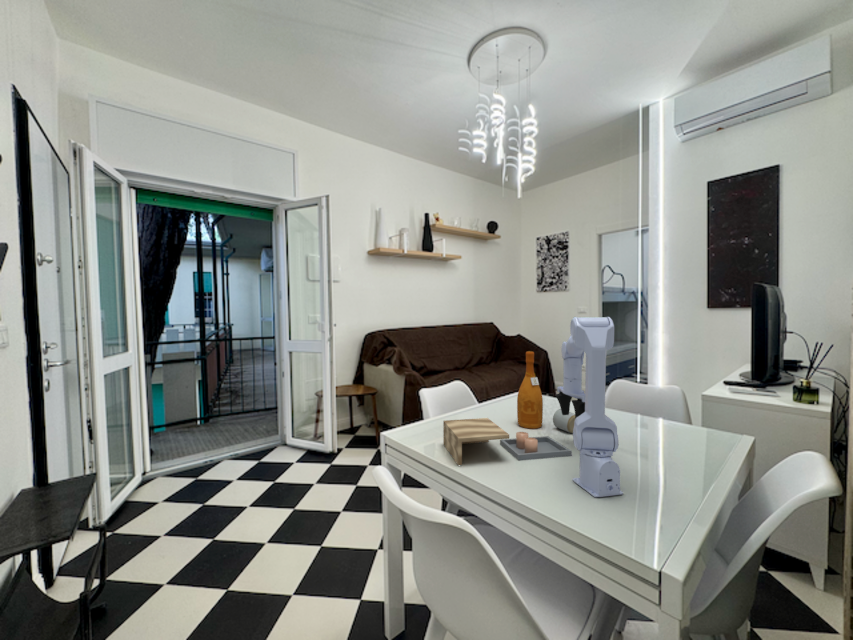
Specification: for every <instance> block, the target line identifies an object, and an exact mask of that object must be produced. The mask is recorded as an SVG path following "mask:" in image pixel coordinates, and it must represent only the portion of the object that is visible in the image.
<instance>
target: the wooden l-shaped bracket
mask: <svg viewBox="0 0 853 640" xmlns="http://www.w3.org/2000/svg"><path fill="white" fill-rule="evenodd" d="M442 428H443V431H442V432H443V433H442V434H443V436H442V437H443V446H444V445H445V446H444V447H445V449H446V448H447V449H446V450H447V452H448V451H449V452H450V453H449V452H448V453H449V454H451V455H452V456H451V455H450V456H451V457H452V459H453V458H454V459H455V460H454V459H453V460H454V462H455V461H456V462H457V463H458V465H463V445H465V444H467V445H468V443H469V444H480V443H479V442H482V443H489V442H490V441H493V440H497V441H498V440H501V439H510V434H509V433H508V432H507V431H505V430H504V429H502V427H500V426H499V425H497V424H496V423H495V422H493V421H492V420H491V419H489V417H479V418H467V419H466V418H465V419H464V418H463V419H449V420H443V427H442ZM456 462H455V463H456ZM457 463H456V464H457ZM458 465H457V466H458Z"/></svg>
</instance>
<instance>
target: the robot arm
mask: <svg viewBox="0 0 853 640" xmlns="http://www.w3.org/2000/svg"><path fill="white" fill-rule="evenodd" d="M569 327H570V336H569V337H568V339H567V340H566V341H562V343H561V357H562V358H561V359H563V371H562V372H563V377H562V379H563V385H562V386H561V385H560V386H557V393H555V397H556V399H557V401H558V405H559V407H560V409H561V411H562V415H569V412H570V408H571V403H572V406H573V409H574V414H575V421H574V428H573V433H572V438H573V439H572V440H573V441H572V442H573V445H574V447H575V448H576V450H578V451H579V477H573V478H572V480H571V481H573V482H574V483H575V484H576V485H578V486H579V487H581V488H582V489H583V490H585V491H586V492H587V493H589V494H590V495H591V496H593V497H594V498H602V497H609V496H610V497H611V496H618V495H619V496H620V495H624V492H623V491H622V490H621V468H620V466H619V464H618V463H617V462H616V461H615V460H614V459H613V457H612V456H614V453H616V451H618V449H619V443H620V442H619V441H620V440H619V434H618V426H617V425H616V423H615V421H614V420H613V419H612V418H611V417H609V416H608V415H606V379H607V378H606V376H607V374H606V372H607V367H606V366H607V365H606V364H607V354H608V351H609V350H611V349H613V348H614V344H615V324H614V321H613V319H612V318H611V317H610V316H605V317H602V316H599V317H595V316H594V317H593V316H592V317H591V316H589V317H585V316H584V317H581V316H579V317H578V316H574V317H572V318H571V320H570V325H569ZM584 357H585V380H584V381H585V383H584V385H585V388H584V390H583V387H582V383H583V379H582V378H583V365H584ZM572 398H574V399H572Z"/></svg>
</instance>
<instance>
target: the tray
mask: <svg viewBox="0 0 853 640" xmlns="http://www.w3.org/2000/svg"><path fill="white" fill-rule="evenodd" d="M528 438H535V439H537V440H538V452H534V453H525V449H519V448H517V447H516V437H514V438H509V439H499V445H500V446H501V447H502V448H504V449H505V450H506V451H507V452H508V453H510V455H512V457H514V458H515V459H516V460H517V461H529V460H530V461H531V460H539V459H540V460H541V459H551V458H554V459H555V458H562V457H573V456H572V455H573V454H572V453H573V451H572V450H571V449H569V448H568V447H567V446H565V445H564V444H561V443H560V442H559V441H557V440H555V439H553V438H552V437H550V436H549V435H544V436H543V435H542V436H531V437H529V436H528Z"/></svg>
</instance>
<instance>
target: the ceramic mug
mask: <svg viewBox="0 0 853 640" xmlns="http://www.w3.org/2000/svg"><path fill="white" fill-rule="evenodd" d="M574 421H575V412H574V413H573V412H571V411H569V415H562V411H561V408H558V409H557V410H556V411H555V412H554V413H553V416H552V423H553V425H554V427H555V428H557V429H558V430H559V429H560V430H562V431H564V432H567V433H570V434H573V428H574Z"/></svg>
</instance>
